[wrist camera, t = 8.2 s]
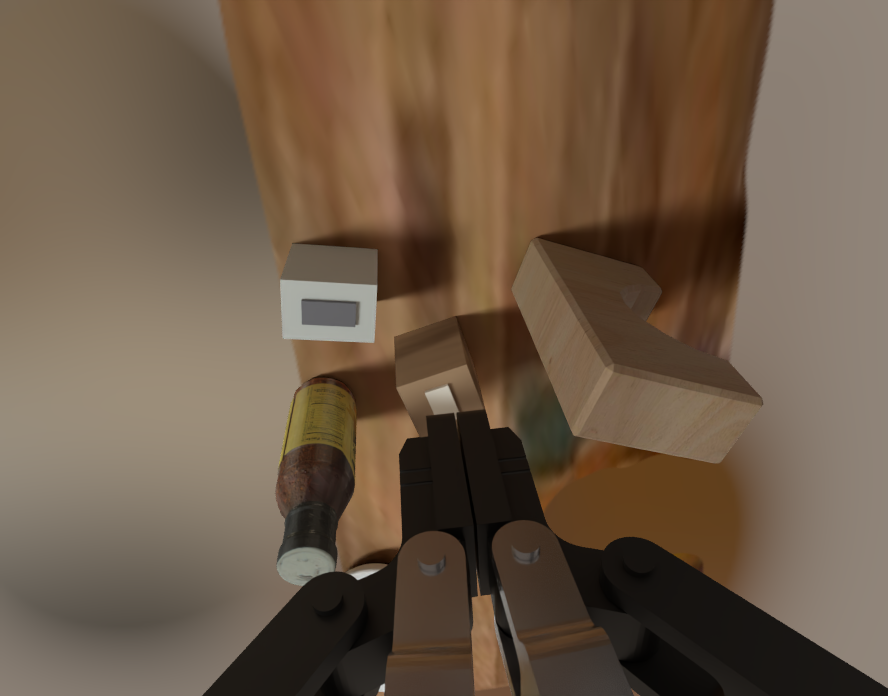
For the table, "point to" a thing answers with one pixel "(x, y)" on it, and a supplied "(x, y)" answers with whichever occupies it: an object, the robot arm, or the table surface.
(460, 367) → the walnut marked block
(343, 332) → the grey marked block
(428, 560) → the robot arm
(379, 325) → the table surface
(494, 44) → the table surface
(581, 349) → the decorative block
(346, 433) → the sauce bottle
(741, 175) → the table surface
